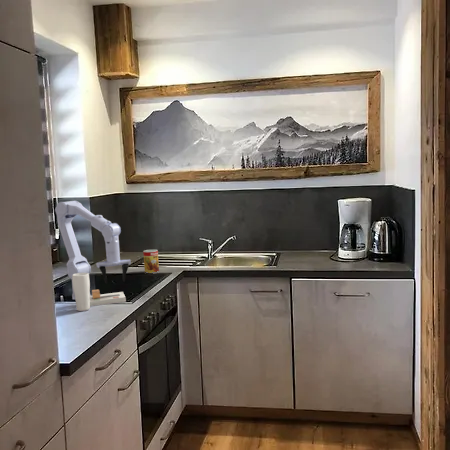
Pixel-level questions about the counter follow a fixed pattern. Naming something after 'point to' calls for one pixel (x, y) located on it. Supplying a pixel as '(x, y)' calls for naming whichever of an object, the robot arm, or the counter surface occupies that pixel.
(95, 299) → the panel
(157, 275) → the counter surface
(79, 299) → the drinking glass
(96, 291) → the breaker toggle
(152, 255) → the canned food
